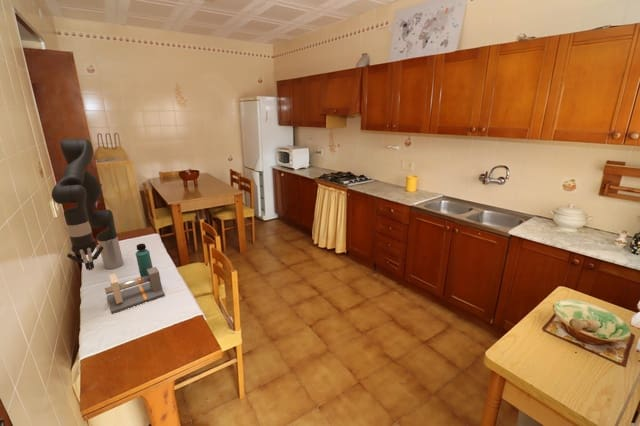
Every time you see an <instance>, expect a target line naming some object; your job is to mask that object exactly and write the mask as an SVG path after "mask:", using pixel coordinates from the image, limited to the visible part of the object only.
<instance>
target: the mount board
mask: <svg viewBox="0 0 640 426" xmlns="http://www.w3.org/2000/svg"><path fill="white" fill-rule="evenodd" d="M147 272H148V275H149V277H150V281H149V282H146V283H143V284H139V285H136V286H133V287H129V288H126V289H123V290H120V291H121V295H122V299H123V302H120V303H116V300H115V297H114V293H110V294H107V295H106V298H107V302H108V305H109V306H108V307H109V309H110V313H111V314H110V315H114V313H115V314H116V313H120V312H123V311H126V310H128V308H129V309H132V308H134V307H133V306H135V307H137V305H138V306H140V304H141V305H143V303H144V304H146V303H145V302H147V303H149V302H153V301H155V300H157V299H161V298H163V297H166V294H165V292H164V290H163V287H162V281H161V276H160V271H159V270H158V267H156V266H153V268H150V269H147ZM131 307H132V308H131Z"/></svg>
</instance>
